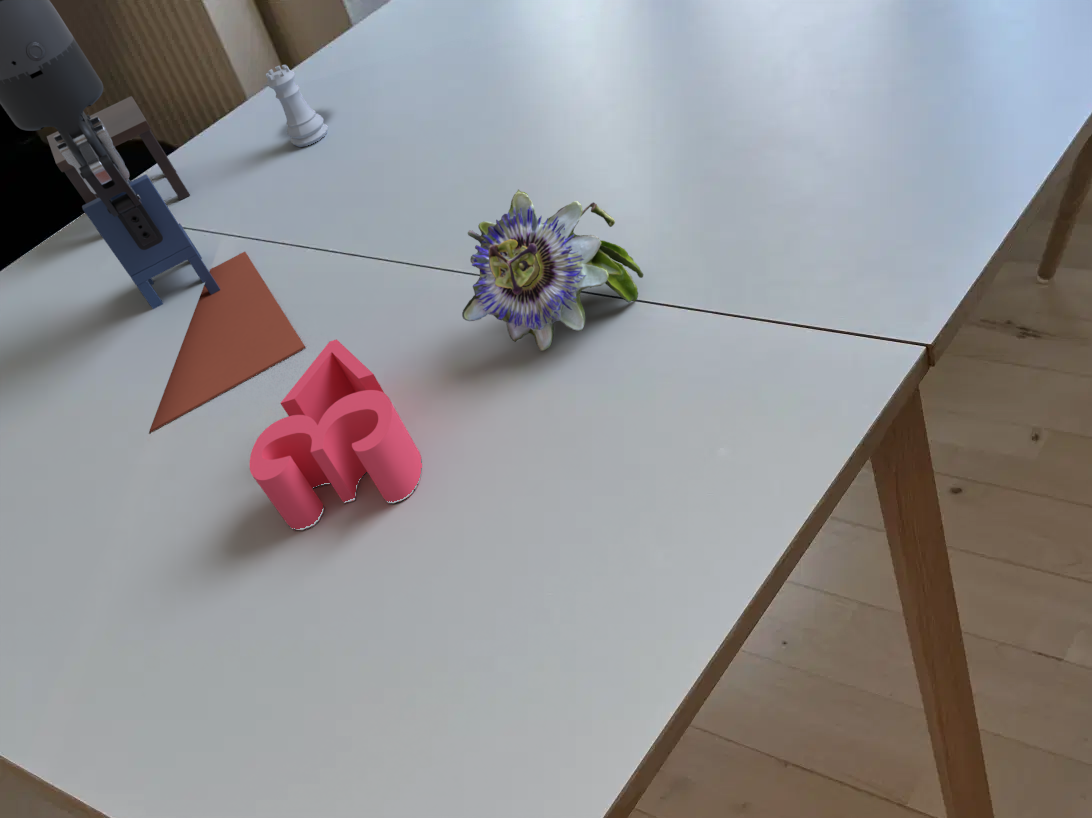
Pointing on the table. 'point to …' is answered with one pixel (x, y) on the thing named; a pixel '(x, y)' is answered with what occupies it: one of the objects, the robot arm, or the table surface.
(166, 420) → the flat trapezoid
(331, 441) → the letters
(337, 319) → the table surface
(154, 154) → the side table
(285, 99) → the rook chess piece
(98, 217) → the chair
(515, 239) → the passion flower
